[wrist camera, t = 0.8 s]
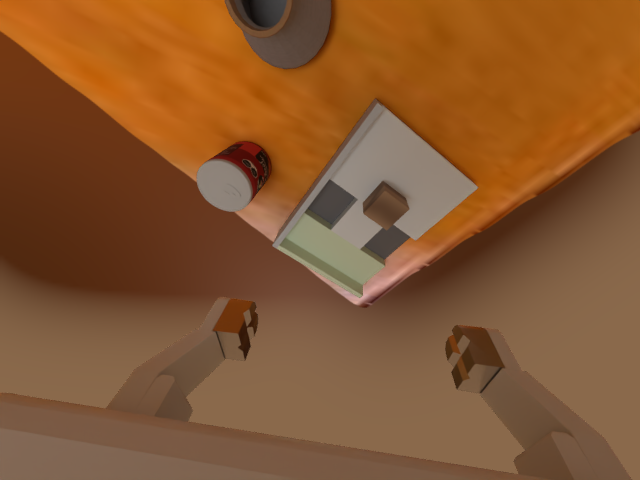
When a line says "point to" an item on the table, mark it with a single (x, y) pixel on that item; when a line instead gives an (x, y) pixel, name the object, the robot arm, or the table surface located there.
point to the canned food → (234, 176)
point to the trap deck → (353, 189)
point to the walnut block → (385, 205)
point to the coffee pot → (283, 28)
